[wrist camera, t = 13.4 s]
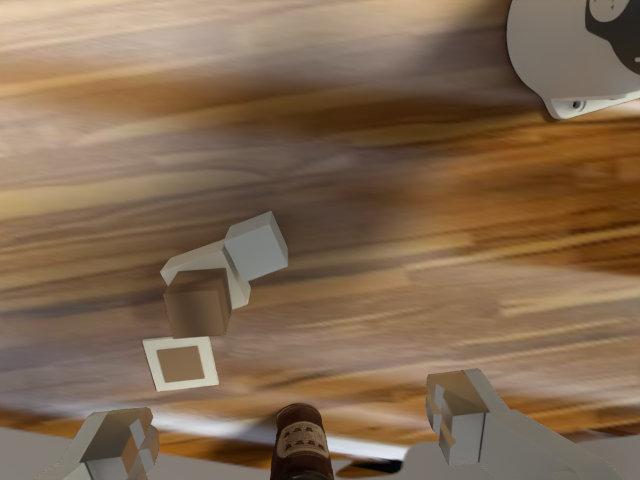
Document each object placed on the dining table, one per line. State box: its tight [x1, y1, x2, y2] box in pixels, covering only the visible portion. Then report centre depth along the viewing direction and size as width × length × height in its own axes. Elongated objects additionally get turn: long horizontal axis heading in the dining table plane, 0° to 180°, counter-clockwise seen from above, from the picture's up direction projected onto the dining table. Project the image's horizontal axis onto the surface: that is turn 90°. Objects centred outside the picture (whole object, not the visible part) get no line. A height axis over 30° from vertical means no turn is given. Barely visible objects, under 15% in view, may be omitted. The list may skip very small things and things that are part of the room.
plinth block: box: [160, 239, 251, 310], centre depth 41 cm, size 7×7×4 cm
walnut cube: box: [163, 268, 232, 339], centre depth 37 cm, size 5×5×5 cm
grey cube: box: [223, 211, 288, 283], centre depth 39 cm, size 5×5×5 cm
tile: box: [142, 336, 219, 392], centre depth 46 cm, size 8×8×1 cm
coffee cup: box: [270, 404, 334, 480], centre depth 46 cm, size 9×8×13 cm
